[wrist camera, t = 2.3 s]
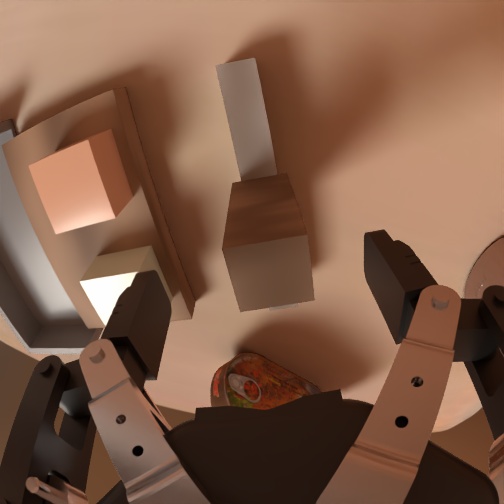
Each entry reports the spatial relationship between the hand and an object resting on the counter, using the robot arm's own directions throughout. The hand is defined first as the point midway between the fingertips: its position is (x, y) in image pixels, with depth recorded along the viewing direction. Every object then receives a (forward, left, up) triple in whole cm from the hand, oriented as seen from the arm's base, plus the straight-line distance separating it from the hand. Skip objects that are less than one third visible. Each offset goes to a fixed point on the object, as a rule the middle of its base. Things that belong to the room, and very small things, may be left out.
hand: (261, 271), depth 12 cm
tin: (+2, +20, -10) cm, 23 cm away
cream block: (+10, +4, -8) cm, 13 cm away
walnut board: (+12, 0, -10) cm, 15 cm away
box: (+21, 0, -10) cm, 23 cm away
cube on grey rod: (0, 0, -10) cm, 10 cm away
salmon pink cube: (+10, -4, -8) cm, 13 cm away
